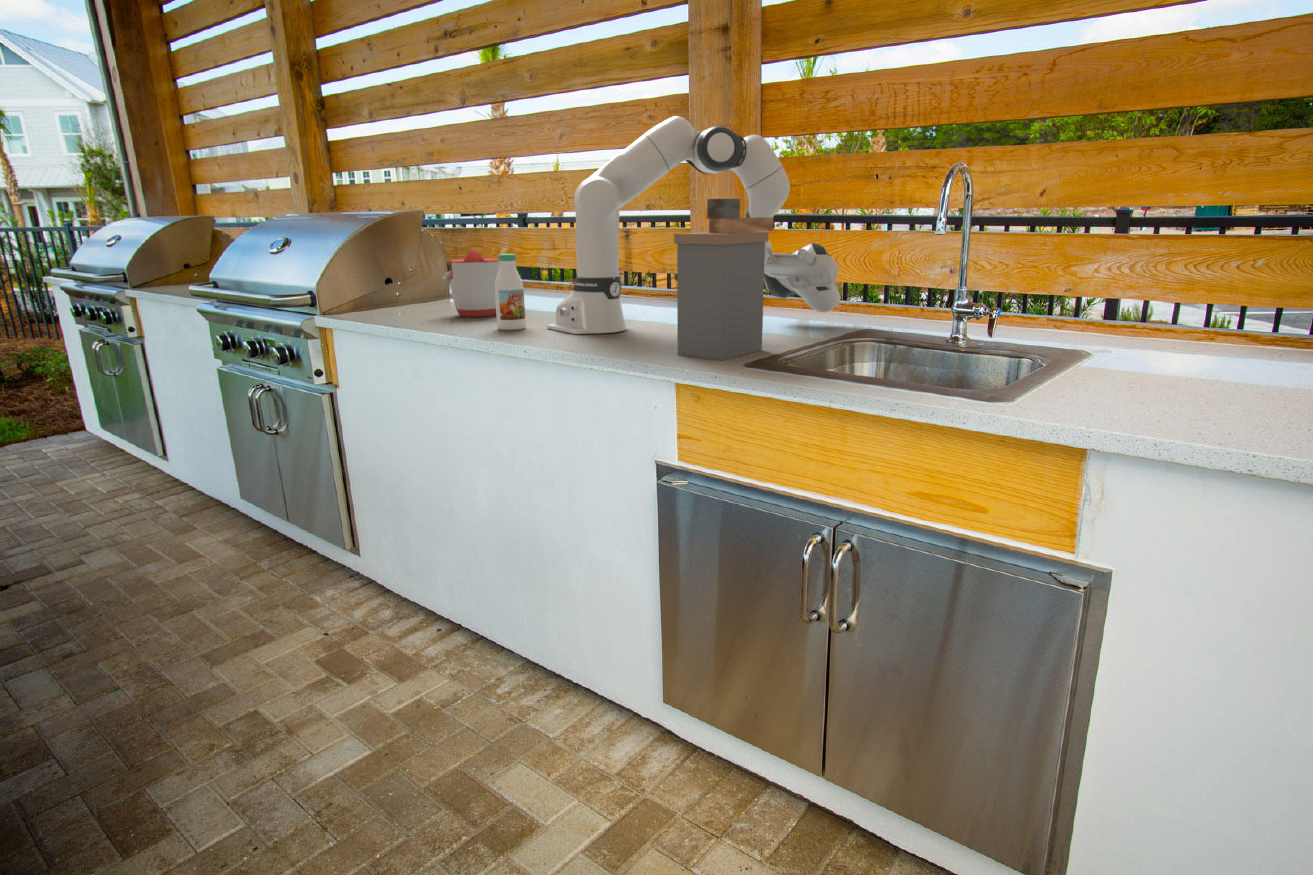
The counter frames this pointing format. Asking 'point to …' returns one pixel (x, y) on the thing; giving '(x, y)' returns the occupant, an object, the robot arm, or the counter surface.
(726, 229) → the brown grey stepped block
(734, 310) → the cabinet
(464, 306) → the citrus juicer
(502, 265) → the milk bottle
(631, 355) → the counter surface
